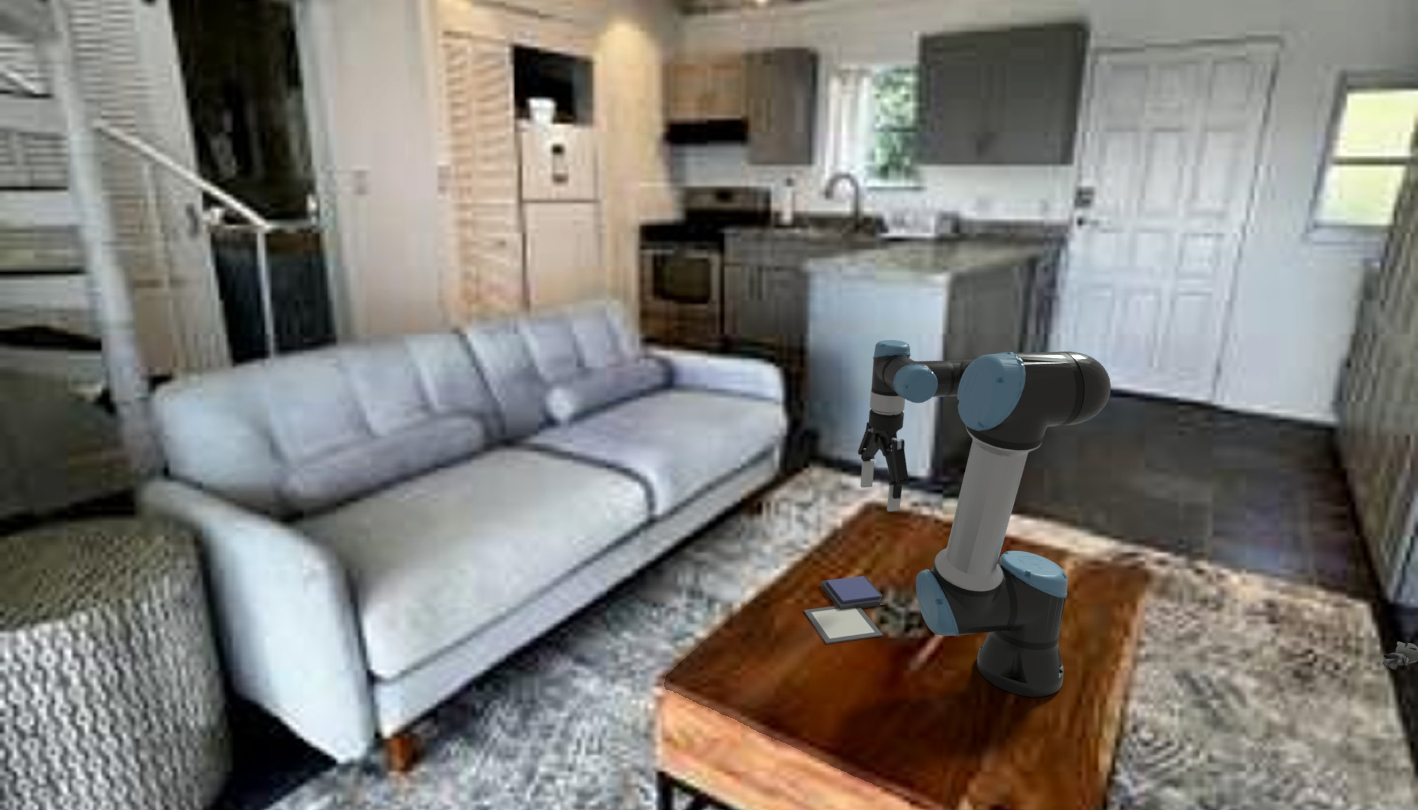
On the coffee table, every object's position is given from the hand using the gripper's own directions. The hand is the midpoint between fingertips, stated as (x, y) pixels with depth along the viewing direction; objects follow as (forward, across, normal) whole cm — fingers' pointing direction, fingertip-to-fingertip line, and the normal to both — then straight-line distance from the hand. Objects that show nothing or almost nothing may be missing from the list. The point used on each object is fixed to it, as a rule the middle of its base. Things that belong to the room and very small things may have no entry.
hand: (879, 498), depth 174 cm
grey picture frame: (+19, -18, +16) cm, 31 cm away
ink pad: (+19, -8, +9) cm, 23 cm away
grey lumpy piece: (+59, -11, -161) cm, 172 cm away
